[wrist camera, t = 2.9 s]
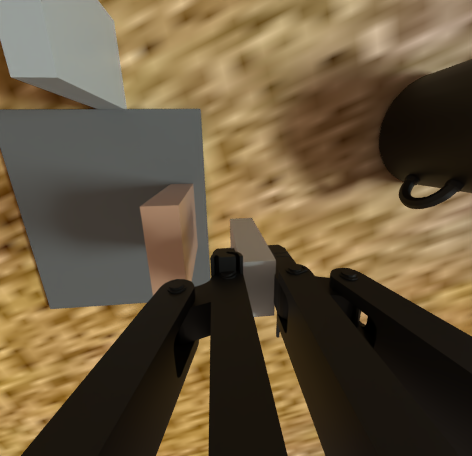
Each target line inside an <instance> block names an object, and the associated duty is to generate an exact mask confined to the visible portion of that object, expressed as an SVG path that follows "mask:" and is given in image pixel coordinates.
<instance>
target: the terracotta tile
mask: <svg viewBox="0 0 472 456" xmlns="http://www.w3.org/2000/svg"><path fill="white" fill-rule="evenodd" d="M140 212H141V218H142V225H143V232H144V239H145V246H146V252H147V259H148V266H149V273H150V279H151V286H152V293H153V295H154V294H155V293H156V292H157V290H158V289H159V288H160V287H161V286H162V285H163V284H164V283H167V282H169V281H171V280H175V279H185V280H189V281H191V282H192V276H193V271H194V265H195V259H196V253H197V248H198V242H197V228H196V214H195V201H194V187H193V184H170V185H169V186H167V187H166V188H165V189H163V190H162V191H160V192H159V193H158V194H156V195H155V196H154V197H152V198H151V199H149V200H148V201H147V202H145V203H144V204H143V205H141V206H140Z"/></svg>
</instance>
